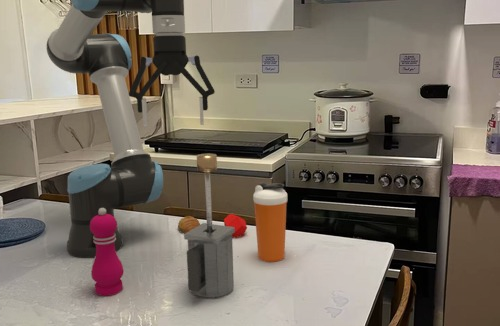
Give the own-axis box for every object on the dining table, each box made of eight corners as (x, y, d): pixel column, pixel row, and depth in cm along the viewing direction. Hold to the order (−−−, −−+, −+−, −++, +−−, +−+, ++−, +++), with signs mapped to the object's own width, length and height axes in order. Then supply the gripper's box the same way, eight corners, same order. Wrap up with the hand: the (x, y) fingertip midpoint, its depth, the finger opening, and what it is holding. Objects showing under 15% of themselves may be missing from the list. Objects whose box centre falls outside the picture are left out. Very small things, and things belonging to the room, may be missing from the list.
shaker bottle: (285, 264, 135) (284, 189, 131) (251, 262, 137) (249, 188, 133) (290, 251, 144) (289, 180, 140) (258, 249, 145) (256, 179, 141)
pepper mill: (108, 299, 118) (100, 214, 114) (86, 292, 122) (78, 209, 118) (131, 287, 124) (125, 205, 120) (109, 280, 128) (102, 201, 124)
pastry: (204, 235, 159) (203, 223, 158) (182, 238, 157) (181, 226, 156) (197, 225, 168) (196, 214, 167) (176, 228, 166) (175, 216, 165)
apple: (252, 219, 155) (237, 204, 160) (233, 228, 151) (218, 212, 157) (251, 236, 159) (236, 221, 164) (233, 245, 155) (218, 229, 161)
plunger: (188, 244, 118) (183, 157, 114) (204, 234, 125) (201, 151, 120) (216, 249, 115) (212, 159, 111) (231, 238, 121) (228, 153, 117)
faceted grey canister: (174, 299, 117) (171, 239, 114) (204, 276, 129) (202, 221, 126) (213, 307, 113) (211, 245, 110) (241, 283, 124) (239, 226, 122)
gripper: (112, 35, 119) (119, 129, 123) (223, 33, 120) (225, 125, 125) (117, 36, 126) (124, 124, 130) (221, 34, 128) (224, 121, 132)
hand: (174, 125), depth 128 cm, fingers open, 13 cm apart
